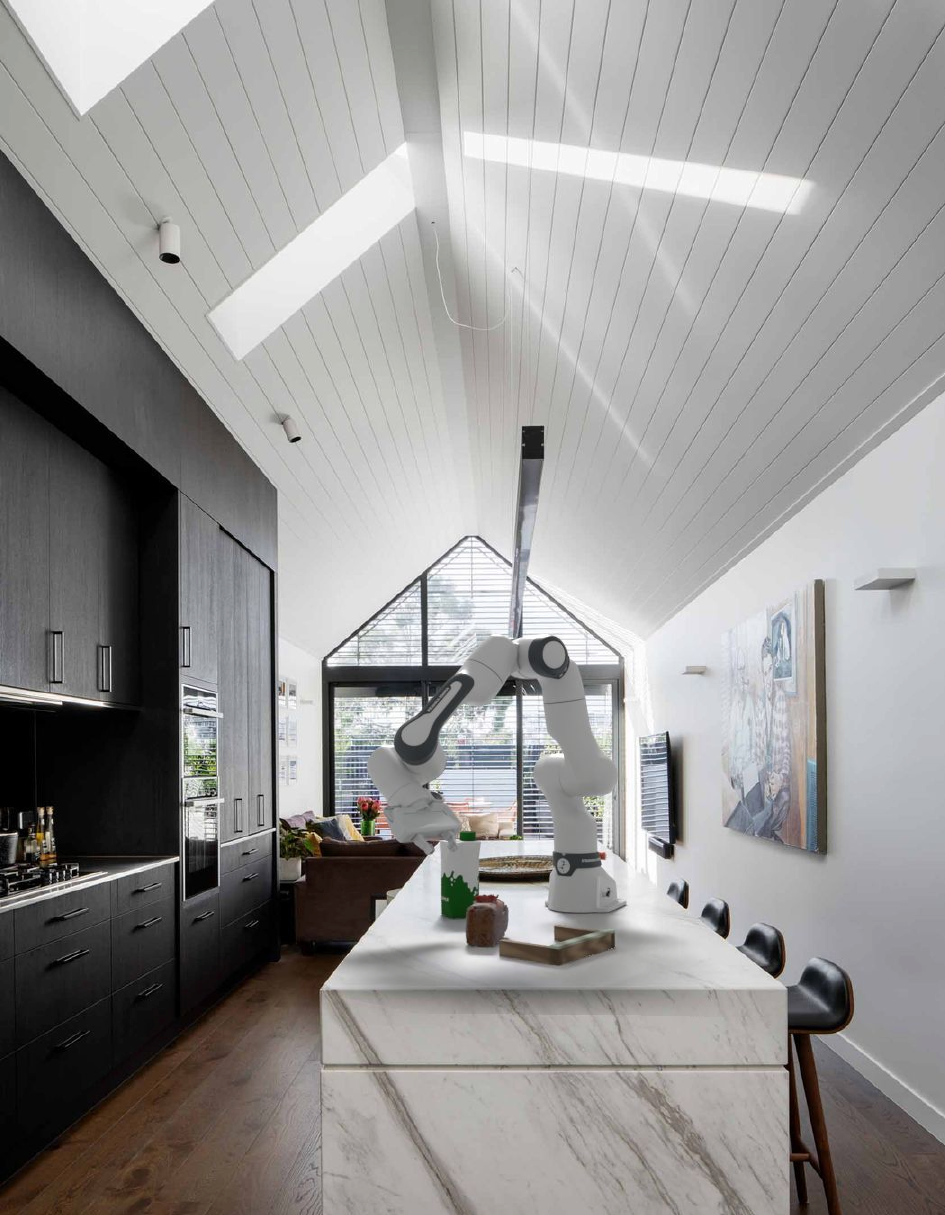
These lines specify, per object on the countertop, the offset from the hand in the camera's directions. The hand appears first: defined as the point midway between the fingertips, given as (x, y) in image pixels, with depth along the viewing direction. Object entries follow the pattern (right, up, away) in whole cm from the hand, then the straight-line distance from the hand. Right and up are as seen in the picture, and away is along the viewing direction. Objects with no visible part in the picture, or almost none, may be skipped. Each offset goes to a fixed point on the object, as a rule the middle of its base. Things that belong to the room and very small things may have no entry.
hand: (443, 851), depth 220 cm
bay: (+24, -15, -21) cm, 35 cm away
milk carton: (+3, -21, +20) cm, 29 cm away
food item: (+10, -17, -10) cm, 22 cm away
